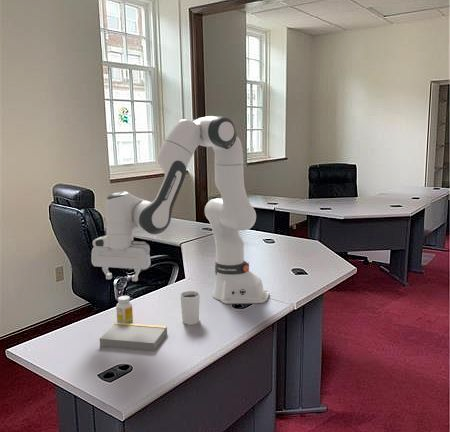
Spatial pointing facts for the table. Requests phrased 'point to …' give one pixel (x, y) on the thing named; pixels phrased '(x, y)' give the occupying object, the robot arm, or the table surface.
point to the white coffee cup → (190, 307)
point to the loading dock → (134, 336)
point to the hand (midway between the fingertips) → (121, 279)
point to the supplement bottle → (124, 310)
